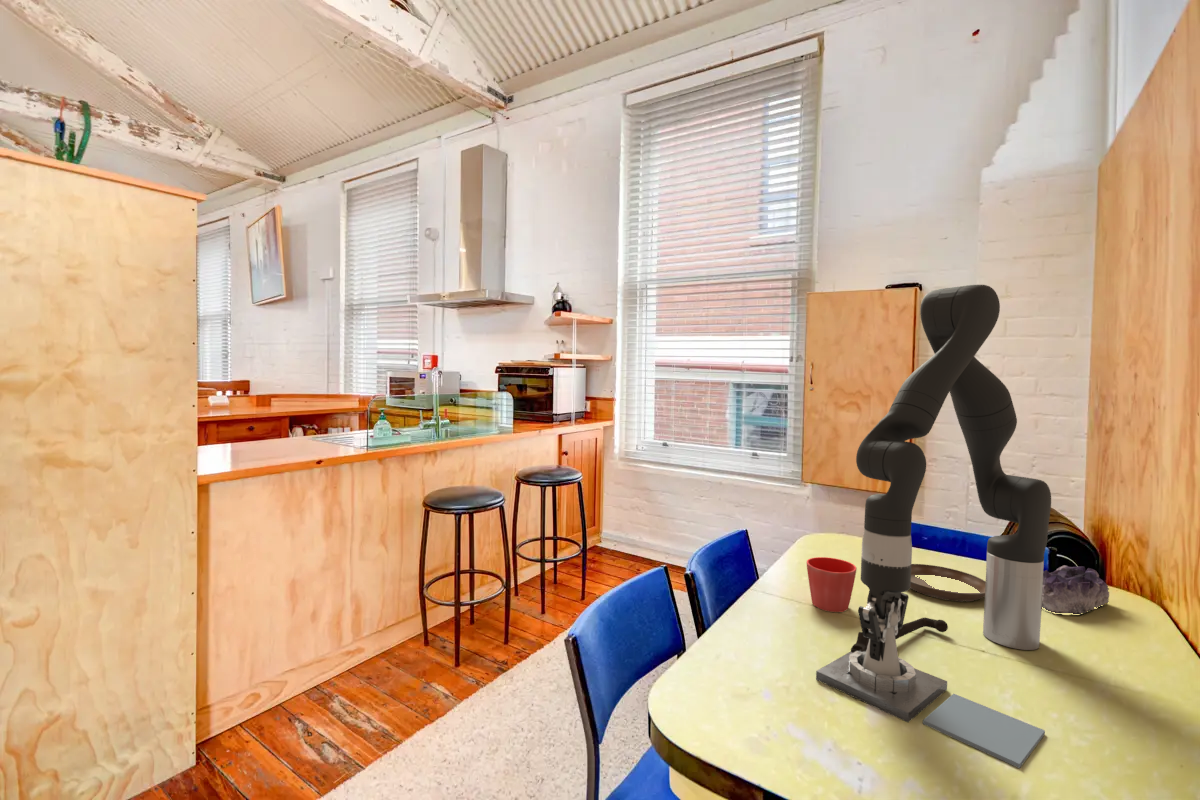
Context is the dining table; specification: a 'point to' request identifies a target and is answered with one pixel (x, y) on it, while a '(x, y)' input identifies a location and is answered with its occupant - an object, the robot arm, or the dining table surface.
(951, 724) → the rubber mat
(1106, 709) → the dining table surface
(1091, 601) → the geode
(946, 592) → the plant saucer
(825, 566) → the flower pot
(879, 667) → the salt shaker
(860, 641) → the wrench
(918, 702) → the eye plate
